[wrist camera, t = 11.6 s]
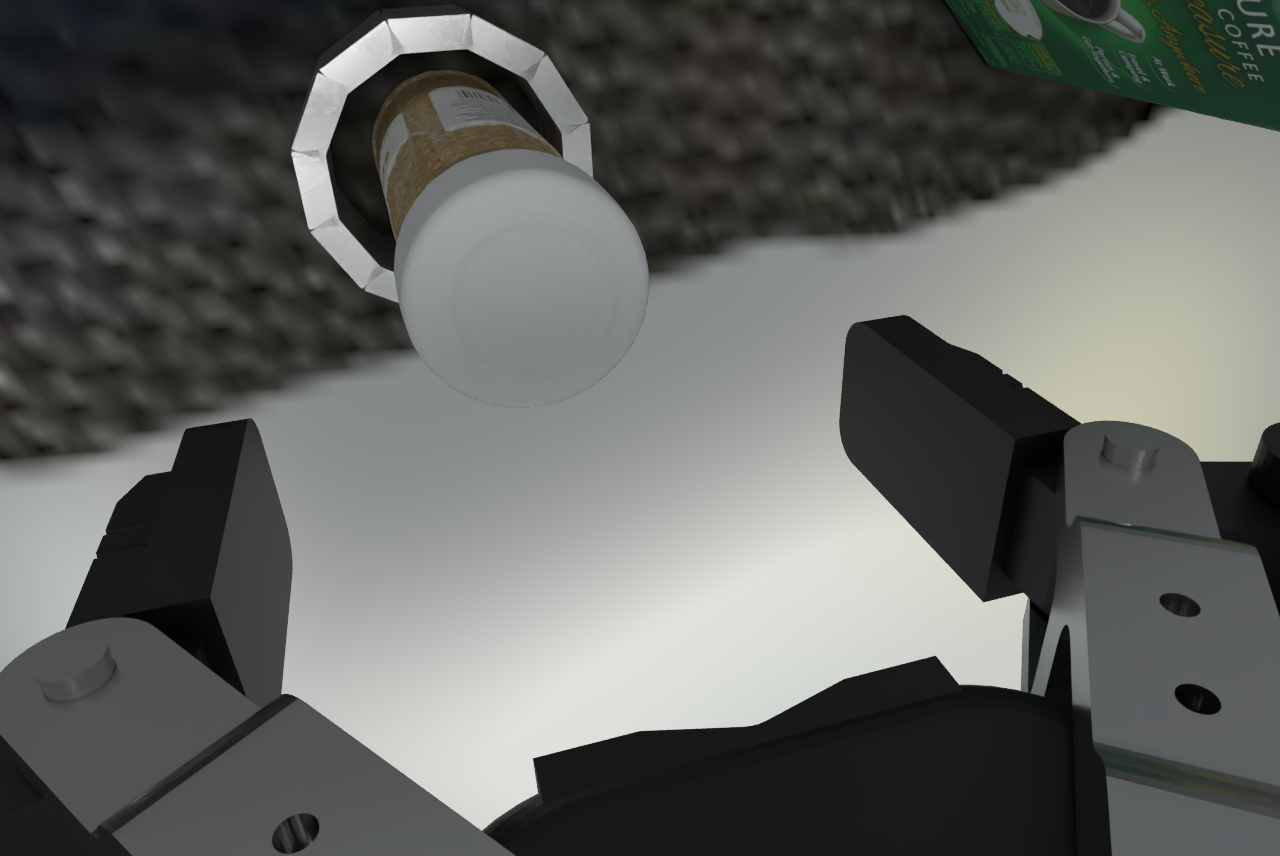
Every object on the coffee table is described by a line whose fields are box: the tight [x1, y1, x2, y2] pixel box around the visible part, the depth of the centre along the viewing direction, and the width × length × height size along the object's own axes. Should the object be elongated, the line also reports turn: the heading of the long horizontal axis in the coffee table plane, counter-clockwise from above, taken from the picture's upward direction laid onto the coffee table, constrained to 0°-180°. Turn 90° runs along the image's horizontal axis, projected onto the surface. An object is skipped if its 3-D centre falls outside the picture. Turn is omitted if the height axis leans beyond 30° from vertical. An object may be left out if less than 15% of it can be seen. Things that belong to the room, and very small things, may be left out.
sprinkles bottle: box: [372, 69, 649, 408], centre depth 21 cm, size 5×5×14 cm
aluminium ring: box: [291, 4, 593, 303], centre depth 25 cm, size 8×8×4 cm
